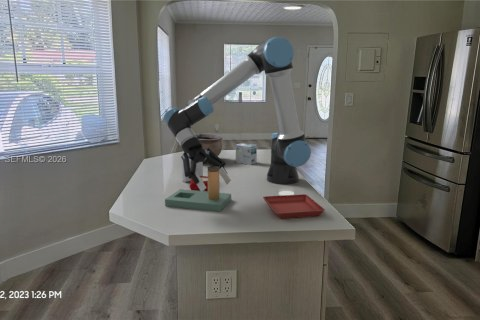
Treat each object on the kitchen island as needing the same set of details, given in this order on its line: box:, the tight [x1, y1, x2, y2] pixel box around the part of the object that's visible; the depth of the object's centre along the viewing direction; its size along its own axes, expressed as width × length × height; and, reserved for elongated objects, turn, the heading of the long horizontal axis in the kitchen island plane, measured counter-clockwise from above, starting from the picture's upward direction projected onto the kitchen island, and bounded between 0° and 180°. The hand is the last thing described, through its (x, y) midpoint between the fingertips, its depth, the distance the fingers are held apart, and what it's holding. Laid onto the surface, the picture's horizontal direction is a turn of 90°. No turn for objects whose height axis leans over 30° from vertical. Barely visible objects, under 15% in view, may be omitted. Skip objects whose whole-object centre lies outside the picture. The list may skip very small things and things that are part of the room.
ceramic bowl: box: [195, 132, 224, 159], centre depth 217 cm, size 22×22×15 cm
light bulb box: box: [235, 142, 258, 166], centre depth 213 cm, size 11×7×11 cm, turn 58°
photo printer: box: [181, 158, 204, 183], centre depth 175 cm, size 10×4×12 cm, turn 123°
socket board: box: [164, 188, 232, 212], centre depth 144 cm, size 22×14×2 cm, turn 75°
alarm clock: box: [189, 175, 208, 192], centre depth 163 cm, size 10×6×15 cm
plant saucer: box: [262, 193, 326, 219], centre depth 137 cm, size 18×18×3 cm
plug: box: [207, 165, 220, 200], centre depth 141 cm, size 4×4×12 cm
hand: (216, 186), depth 140 cm, fingers open, 13 cm apart
